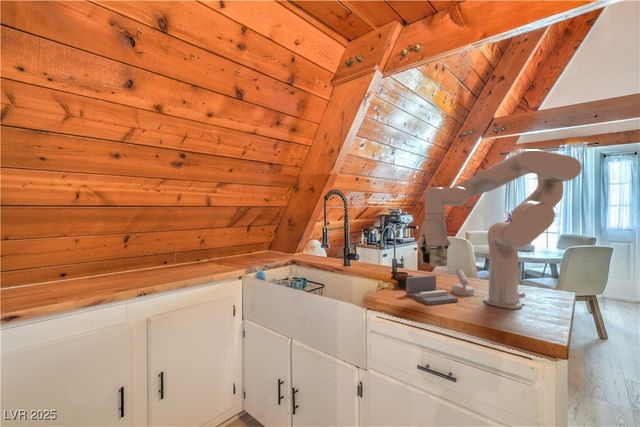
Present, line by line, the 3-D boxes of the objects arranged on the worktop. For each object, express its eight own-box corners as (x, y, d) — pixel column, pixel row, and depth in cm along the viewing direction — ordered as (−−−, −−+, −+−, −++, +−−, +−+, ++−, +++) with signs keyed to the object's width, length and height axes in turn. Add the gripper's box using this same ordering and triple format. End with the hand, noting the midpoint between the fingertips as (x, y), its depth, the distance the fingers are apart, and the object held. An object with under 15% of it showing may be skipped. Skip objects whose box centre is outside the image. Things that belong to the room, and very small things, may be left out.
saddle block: (433, 262, 122) (434, 246, 122) (446, 265, 115) (447, 249, 115) (420, 262, 120) (421, 247, 120) (433, 266, 113) (433, 249, 113)
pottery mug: (387, 289, 134) (387, 271, 138) (396, 294, 140) (395, 277, 144) (412, 286, 127) (411, 268, 131) (420, 292, 134) (419, 274, 138)
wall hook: (468, 268, 132) (477, 273, 122) (468, 289, 132) (477, 296, 122) (448, 268, 133) (455, 272, 123) (448, 288, 133) (455, 295, 123)
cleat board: (433, 292, 128) (433, 275, 128) (457, 301, 115) (458, 282, 114) (406, 294, 123) (406, 277, 123) (428, 305, 110) (428, 285, 110)
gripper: (445, 217, 123) (444, 260, 124) (410, 217, 118) (409, 261, 118) (458, 218, 116) (457, 263, 116) (422, 218, 111) (421, 265, 111)
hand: (433, 262), depth 117 cm, fingers closed on saddle block, 6 cm apart
